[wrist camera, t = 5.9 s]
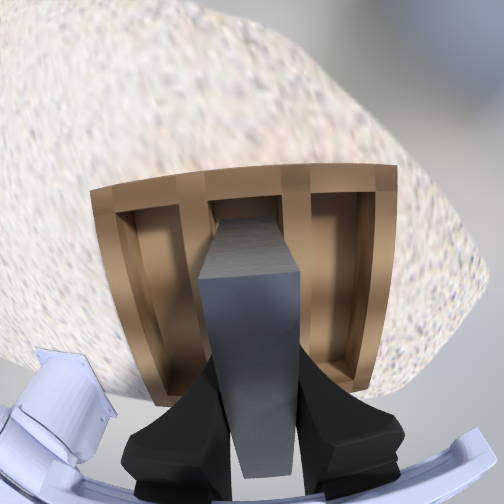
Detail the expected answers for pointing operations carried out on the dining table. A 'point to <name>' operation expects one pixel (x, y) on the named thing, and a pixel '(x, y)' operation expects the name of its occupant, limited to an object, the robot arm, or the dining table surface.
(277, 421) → the panel
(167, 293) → the rack
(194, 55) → the dining table surface
